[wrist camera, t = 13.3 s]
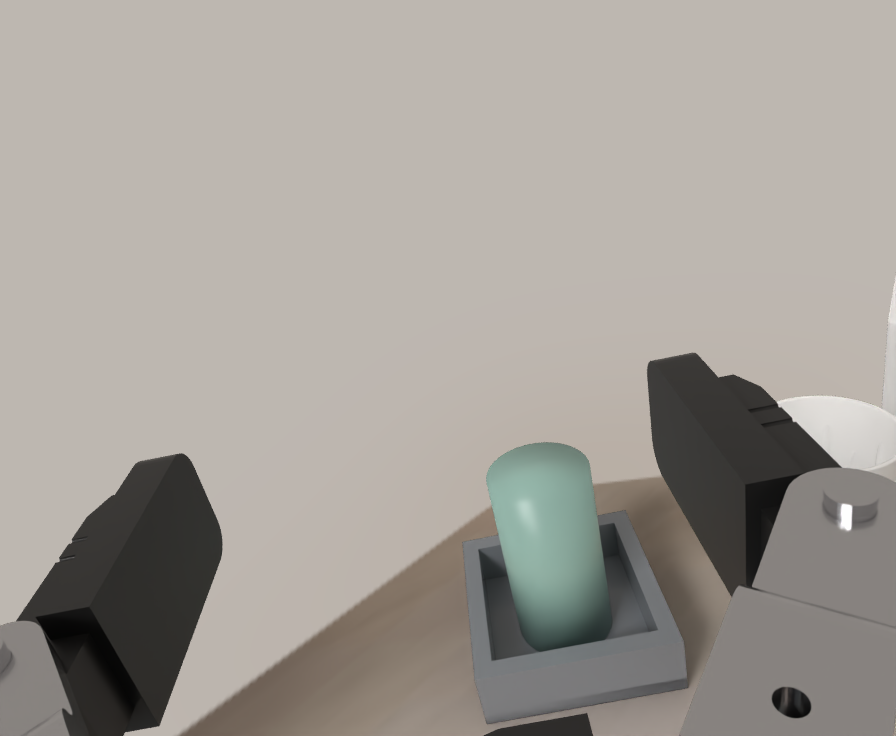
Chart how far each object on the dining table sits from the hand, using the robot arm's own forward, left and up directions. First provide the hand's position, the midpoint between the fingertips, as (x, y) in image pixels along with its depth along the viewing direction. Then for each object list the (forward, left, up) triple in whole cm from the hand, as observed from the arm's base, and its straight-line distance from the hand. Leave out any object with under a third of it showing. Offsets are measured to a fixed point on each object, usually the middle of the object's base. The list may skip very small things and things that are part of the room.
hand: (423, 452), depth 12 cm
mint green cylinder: (+3, +21, -26) cm, 34 cm away
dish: (+3, +21, -27) cm, 34 cm away
